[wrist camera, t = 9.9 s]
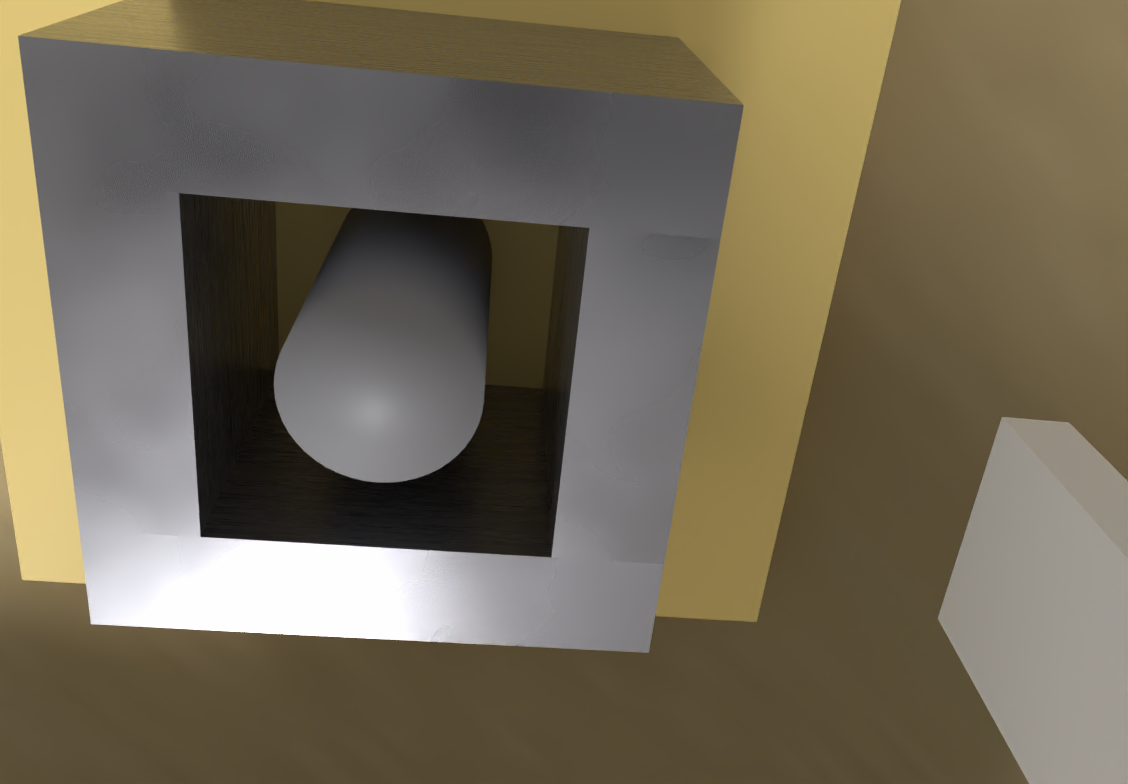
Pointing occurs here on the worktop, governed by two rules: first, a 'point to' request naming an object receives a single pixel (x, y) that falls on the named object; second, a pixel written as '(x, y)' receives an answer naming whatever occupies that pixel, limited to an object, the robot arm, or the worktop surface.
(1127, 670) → the robot arm
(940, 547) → the worktop surface
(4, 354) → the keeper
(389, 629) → the grey square hollow block
